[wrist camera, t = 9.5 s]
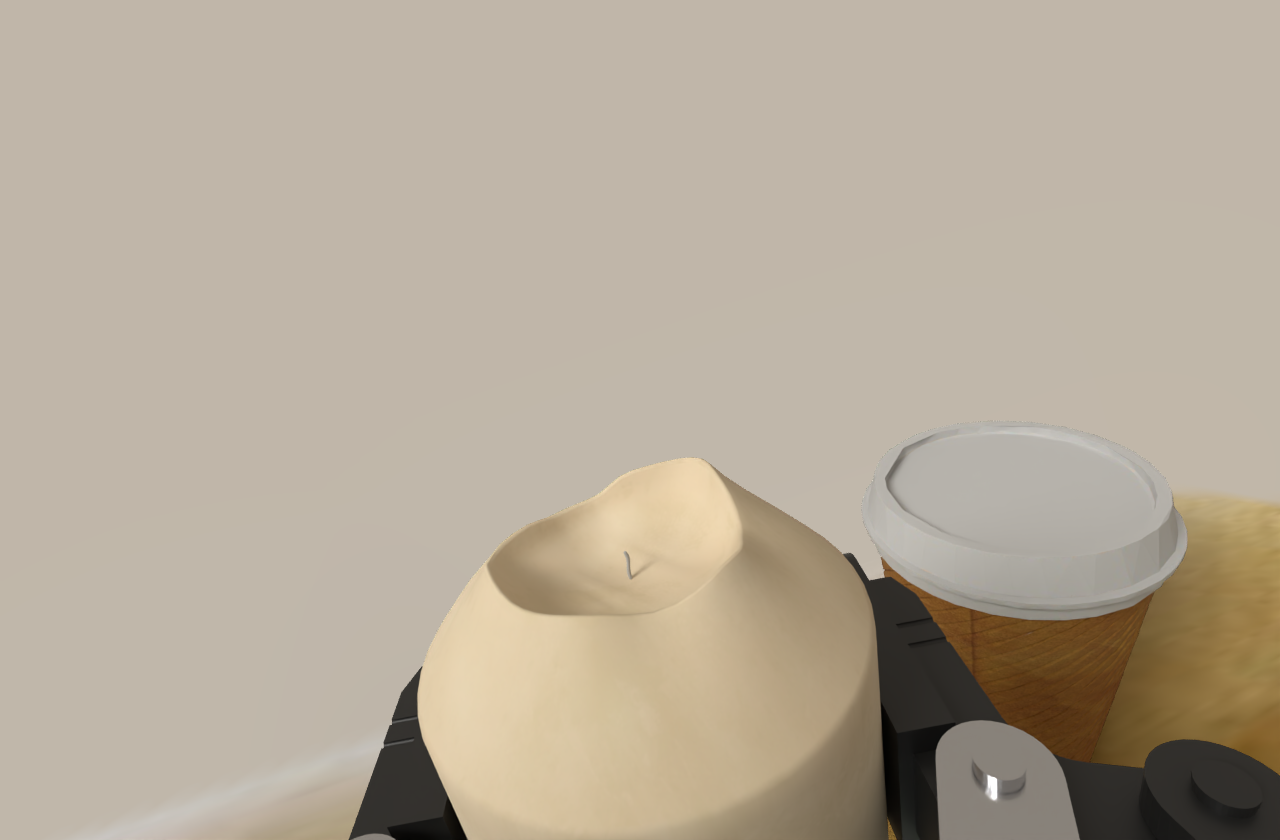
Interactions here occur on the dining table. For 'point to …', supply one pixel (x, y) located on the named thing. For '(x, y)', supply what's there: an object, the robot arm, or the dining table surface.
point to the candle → (660, 675)
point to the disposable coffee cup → (1029, 561)
